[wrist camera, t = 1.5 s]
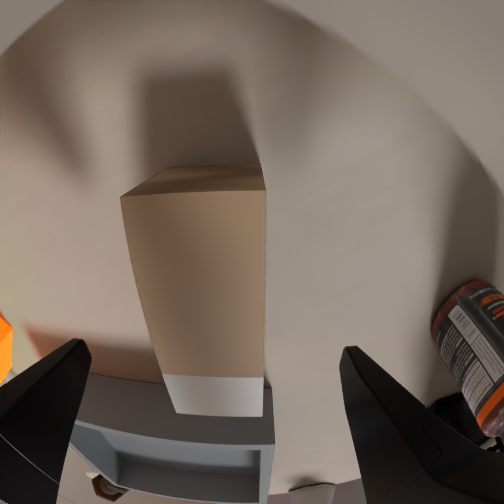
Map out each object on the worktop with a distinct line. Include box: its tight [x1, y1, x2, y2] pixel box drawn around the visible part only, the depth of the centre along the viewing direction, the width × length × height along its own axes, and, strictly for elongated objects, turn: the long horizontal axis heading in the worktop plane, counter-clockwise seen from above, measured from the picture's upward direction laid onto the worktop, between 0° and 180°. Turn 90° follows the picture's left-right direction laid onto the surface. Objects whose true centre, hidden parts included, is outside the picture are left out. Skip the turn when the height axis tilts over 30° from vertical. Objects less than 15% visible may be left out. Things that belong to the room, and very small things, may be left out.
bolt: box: [92, 474, 130, 502], centre depth 27 cm, size 6×5×15 cm
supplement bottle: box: [431, 279, 504, 438], centre depth 10 cm, size 6×6×11 cm
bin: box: [69, 373, 275, 504], centre depth 20 cm, size 18×18×4 cm
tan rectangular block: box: [120, 164, 266, 417], centre depth 12 cm, size 4×10×5 cm, turn 1°
